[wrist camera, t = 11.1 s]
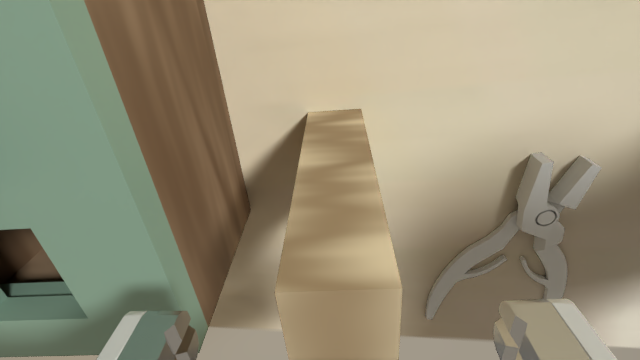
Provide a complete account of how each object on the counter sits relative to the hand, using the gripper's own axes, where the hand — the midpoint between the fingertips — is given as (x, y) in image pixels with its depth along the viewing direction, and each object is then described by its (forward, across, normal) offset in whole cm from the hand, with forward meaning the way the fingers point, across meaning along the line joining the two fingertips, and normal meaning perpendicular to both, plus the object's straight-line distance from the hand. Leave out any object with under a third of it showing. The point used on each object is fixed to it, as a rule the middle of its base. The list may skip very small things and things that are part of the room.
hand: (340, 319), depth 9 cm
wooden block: (+13, 0, 0) cm, 13 cm away
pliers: (+13, -12, +10) cm, 20 cm away
